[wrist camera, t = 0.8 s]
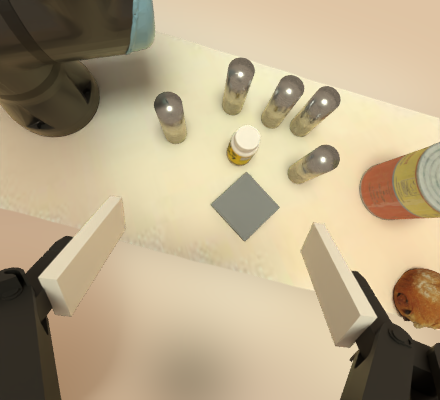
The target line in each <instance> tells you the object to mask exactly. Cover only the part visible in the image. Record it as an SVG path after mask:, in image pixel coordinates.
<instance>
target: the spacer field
mask: <svg viewBox="0 0 440 400" xmlns="http://www.w3.org/2000/svg"><path fill="white" fill-rule="evenodd" d="M254 72H255V69H254V66H253V64H252V63H251V62H250V61H249V60H247V59H245V58H236V59H234V60H232V61H231V63H230V64H229V68H228V73H227V79H226V85H225V91H224V96H223V102H222V108H223V110H224V111H225V112H226V113H227V114H229V115H236V114H238V113H240V112H241V110H242V107H243V104H244V102H245V99H246V96H247V93H248V90H249V87H250V84H251V82H252V79H253V76H254ZM303 92H304V85H303V82H302V81H301V80H300V79H299V78H298V77H296V76H293V75H288V76H285V77H283V78H282V79H281V80H280V82H279V84H278V86H277V88H276V90H275V91H274V93H273V95H272V97H271V99H270V101H269V102H268V104H267V106H266V108H265V110H264V112H263V113H262V116H261V121H262V123H263V124H264V125H265V126H266V127H267V128H276V127H278V126H279V125H280V123H281V122H282V121H283V119H284V118H285V117H286V115H287V114H288V113H289V112H290V110H291V109H292V108H293V106H294V105H295V104H296V102H297V101H298V100H299V99H300V97H301V96H302V95H303ZM339 104H340V95H339V93H338V92H337V91H336V90H335V89H334V88H332V87H329V86H324V87H321V88H320V89H319V90H318V91H317V92H316V93H315V94H314V95H313V97H312V98H311V99H310V100H309V101H308V102H307V104H306V105H305V106H304V107H303V108H302V109H301V111H300V112H299V113H298V114H297V115H296V116H295V118H294V119H293V120H292V121H291V123H290V130H291V132H292V133H293V134H294V135H296V136H298V137H303V136H305V135H307V134H308V133H309V132H310V131H311V130H312V129H313V128H315V127H316V126H317V125H318V124H319V123H320V122H321V121H322V120H324V119H325V118H326V117H327V116H328V115H329V114H330V113H332V112H333V111H334V110H335V109H336V108H337V107H338V106H339ZM154 108H155V111H156V113H157V116H158V118H159V121H160V124H161V126H162V129H163V131H164V134H165V137H166V139H167V140H168V141H169V142H171V143H173V144H179V143H181V142H183V141H184V140H185V138H186V135H187V133H186V126H185V119H184V112H183V106H182V101H181V99H180V97H179V96H178V95H176V94H175V93H172V92H163V93H161V94H159V95H158V96H157V97H156V99H155V101H154ZM339 161H340V157H339V154H338V152H337V150H336V149H335V148H334V147H332V146H330V145H321V146H319V147H318V148H316V149H315V150H313V151H312V152H311V153H309V154H308V155H306V156H305V157H303V158H302V159H300V160H299V161H297V162H296V163H294V164H293V165H291V166H290V168H289V170H288V177H289V179H290V180H291V181H292V182H293V183H296V184H301V183H304V182H306V181H308V180H311V179H313V178H315V177H317V176H320V175H322V174H324V173H327V172H329V171H331V170H333V169H335V168H336V167H337V166H338V164H339Z"/></svg>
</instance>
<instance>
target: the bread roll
mask: <svg viewBox="0 0 440 400" xmlns="http://www.w3.org/2000/svg"><path fill="white" fill-rule="evenodd" d="M394 302H395V305H396V307H397V309H398V310H399V312H400V313H401V314H402V316H403V319H404V321H412V322H413V323H414V327H416V328H423V327H428V328H433V329H440V274H439V273H437V272H435V271H432V270H429V269H413V270H409V271H407V272H405V273H404V274H403V275H402V276H401V278H400V279H399V281H398V282H397V283H396V285H395V289H394Z"/></svg>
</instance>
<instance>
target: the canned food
mask: <svg viewBox="0 0 440 400" xmlns="http://www.w3.org/2000/svg"><path fill="white" fill-rule="evenodd" d="M360 196H361V199H362V202H363V204H364V206H365V207H366V208H367V210H368V211H369V212H370V213H372V214H373V215H374V216H376V217H378V218H380V219H384V220H395V219H413V218H438V217H440V142H439V143H436V144H433V145H432V146H429V147H426V148H424V149H421V150H418V151H415V152H412V153H409V154H407V155H404V156H401V157H398V158H395V159H393V160H390V161H387V162H384V163H381V164H377V165H374V166H372V167H370V168H369V169H368V170H367V171H366V172H365V173H364V175H363V176H362V179H361V182H360Z"/></svg>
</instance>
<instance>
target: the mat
mask: <svg viewBox="0 0 440 400" xmlns="http://www.w3.org/2000/svg"><path fill="white" fill-rule="evenodd" d="M211 206H212V207H213V208H214V209H215V210H216V211H217V212H218V213H219V214H220V215H221V216H222V218H223V219H224V220H225V221H226V222H227V223H228V224H229V225H230V226H231V227H232V228H233V230H234V231H235V232H236V233H237V234H238V235H239V236H240V237H241V238H242V239H243V240H244V241H246V240H247V239H248V238H249V237H250V236H251V235H252V234H253V233H254V232H255V231H256V230H257V229H258V228H259V227H260V226H261V225H262V224H263V223H264V222H266V221H267V220H268V219H269V218H270V217H271V216H272V215H273V214H274V213H275V212H276V211H277V210H278V209H279V208H280V207H279V206H278V205H277V204H276V203H275V202H274V201H273V199H272V198H271V197H270V196H269V195H268V194H267V193H266V192H265V191H264V190H263V189H262V188H261V187H260V186H259V184H258V183H257V182H256V181H255V180H254V179H253V178H252V177H251V176H250V175H249V174H248V173H247V172H246V173H245V174H244V175H243V176H241V177H240V178H239V179H238V180H237V181H236V182H235V183H234V184H233V185H232V186H230V187H229V188H228V189H227V190H226V191H225V192H224V193H223V194H222V195H221V196H219V197H218V198H217V199H216V200H215V201H214V202H213V203H212V204H211Z"/></svg>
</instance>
